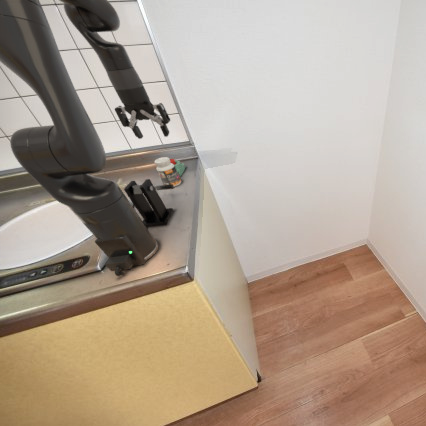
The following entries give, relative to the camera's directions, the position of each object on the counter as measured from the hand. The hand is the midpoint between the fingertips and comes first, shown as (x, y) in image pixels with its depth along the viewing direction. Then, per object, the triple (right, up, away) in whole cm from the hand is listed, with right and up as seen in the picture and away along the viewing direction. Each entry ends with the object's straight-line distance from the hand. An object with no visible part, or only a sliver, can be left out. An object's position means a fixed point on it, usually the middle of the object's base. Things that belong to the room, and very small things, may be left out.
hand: (154, 136), depth 83 cm
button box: (-1, -10, +13) cm, 17 cm away
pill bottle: (+3, -16, +7) cm, 17 cm away
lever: (+7, -20, -10) cm, 24 cm away
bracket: (+8, -29, -9) cm, 31 cm away
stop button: (-1, -7, +11) cm, 13 cm away
